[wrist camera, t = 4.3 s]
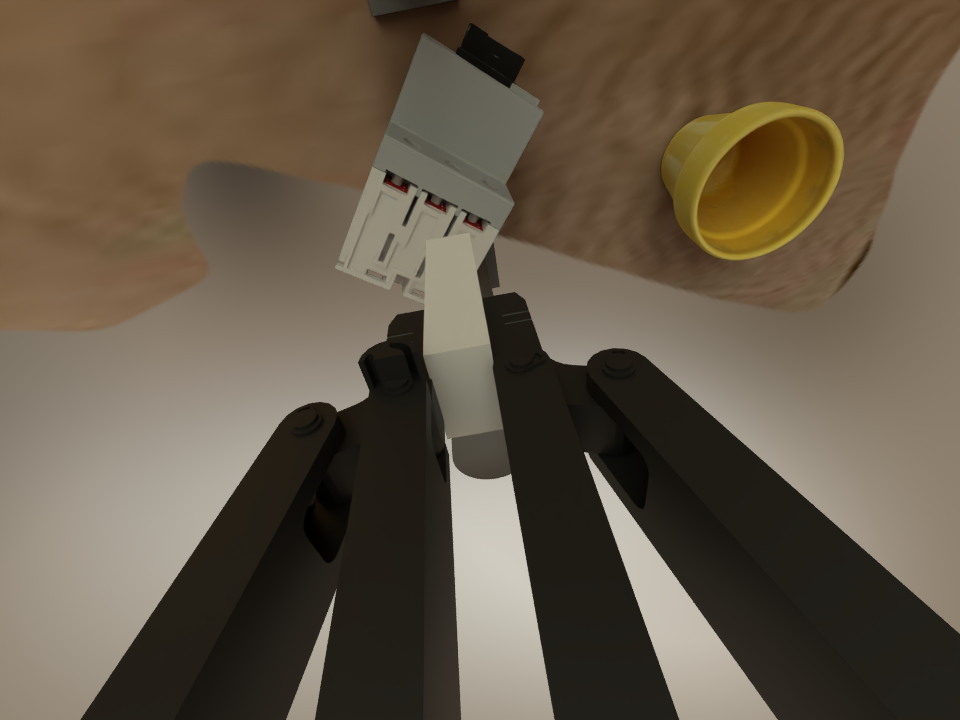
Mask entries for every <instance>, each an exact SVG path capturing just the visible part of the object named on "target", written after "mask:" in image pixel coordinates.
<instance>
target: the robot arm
mask: <svg viewBox="0 0 960 720" xmlns="http://www.w3.org/2000/svg"><path fill="white" fill-rule="evenodd" d="M387 337H388V338H387V341H385V342H381V343H379V344H377V345H375V346H373V347H371V348H369V349H368V350H367V351H366V352H365V353H364V354H363V355H362V356H361V358H360V360H359V362H358V364H359V366H360V369H361V371H362V373H363V376H364V378H365V381H366V383H367V385H368V388H369V390H370V391H369V397H368V398H366V399H365V400H364V401H362V402H360V403H358V404H356V405H354V406H351V407H349V408H346V409H344V410H341V411H339V412H337V411H336V409H335V407H333V406H332V405H330V404H329V403H323V402H317V403H310V404H307V405H304V406H302V407H300V408H298V409H296V410H294V411H293V412H291V413H290V414H288V415H287V416H286V417H285V418H284V420H283V421H282V422H281V423H280V424H279V426H278V427H277V429H276V430H275V431H274V433H273V434H272V436H271V438H270V439H269V441H268V442H267V443H266V445H265V446H264V448H263V449H262V451H261V452H260V454H259V455H258V457H257V459H256V460H255V461H254V463H253V464H252V466H251V467H250V469H249V470H248V472H247V473H246V475H245V476H244V478H243V479H242V481H241V482H240V484H239V485H238V486H237V488H236V490H235V491H234V493H233V494H232V495H231V497H230V498H229V500H228V501H227V503H226V504H225V506H224V507H223V509H222V510H221V512H220V513H219V515H218V516H217V518H216V519H215V521H214V522H213V524H212V525H211V527H210V528H209V530H208V531H207V533H206V534H205V536H204V537H203V539H202V540H201V541H200V543H199V545H198V546H197V547H196V549H195V550H194V552H193V554H192V555H191V556H190V558H189V559H188V561H187V562H186V564H185V565H184V567H183V568H182V570H181V571H180V573H179V574H178V576H177V577H176V579H175V580H174V582H173V583H172V585H171V586H170V588H169V589H168V591H167V592H166V594H165V595H164V597H163V598H162V600H161V601H160V602H159V604H158V605H157V607H156V608H155V610H154V612H153V613H152V614H151V616H150V617H149V619H148V620H147V622H146V623H145V625H144V626H143V628H142V629H141V631H140V632H139V634H138V635H137V637H136V638H135V640H134V641H133V643H132V644H131V646H130V647H129V649H128V650H127V651H126V653H125V655H124V656H123V657H122V659H121V661H120V662H119V663H118V665H117V666H116V668H115V669H114V671H113V672H112V674H111V675H110V677H109V678H108V680H107V681H106V683H105V684H104V686H103V687H102V689H101V690H100V692H99V693H98V695H97V696H96V698H95V699H94V701H93V702H92V704H91V705H90V706H89V708H88V709H87V711H86V712H85V714H84V715H83V717H82V718H81V720H286V718H287V715H288V713H289V710H290V708H291V705H292V703H293V700H294V697H295V695H296V692H297V690H298V687H299V684H300V682H301V679H302V676H303V674H304V671H305V669H306V666H307V664H308V661H309V658H310V656H311V653H312V651H313V648H314V645H315V643H316V640H317V638H318V635H319V632H320V630H321V627H322V625H323V622H324V620H325V617H326V614H327V612H328V609H329V607H330V604H331V601H332V599H333V596H334V594H335V591H336V597H335V603H334V608H333V614H332V621H331V626H330V632H329V638H328V644H327V651H326V657H325V662H324V669H323V674H322V681H321V687H320V693H319V699H318V705H317V711H316V717H315V720H461V711H460V710H461V709H460V686H459V667H458V666H459V664H458V642H457V621H456V599H455V577H454V555H453V533H452V514H451V513H452V512H451V489H450V467H449V454H448V450H447V447H446V444H445V432H446V435H447V438H448V439H450V438H455V437H461V436H467V435H473V434H479V433H484V432H490V431H496V430H502V429H503V430H504V436H505V441H506V447H507V453H508V459H509V464H510V470H511V475H512V481H513V487H514V492H515V498H516V504H517V509H518V515H519V520H520V526H521V532H522V537H523V543H524V549H525V555H526V560H527V566H528V572H529V577H530V583H531V588H532V594H533V599H534V606H535V611H536V617H537V623H538V628H539V634H540V640H541V645H542V650H543V657H544V662H545V668H546V674H547V679H548V685H549V691H550V696H551V702H552V707H553V713H554V719H555V720H679V718H678V715H677V712H676V709H675V707H674V704H673V701H672V698H671V695H670V692H669V690H668V687H667V684H666V681H665V678H664V676H663V673H662V670H661V667H660V665H659V662H658V659H657V656H656V653H655V651H654V648H653V645H652V642H651V639H650V637H649V634H648V631H647V628H646V625H645V622H644V620H643V617H642V614H641V611H640V608H639V606H638V603H637V600H636V597H635V594H634V592H633V589H632V586H631V583H630V580H629V578H628V575H627V572H626V569H625V566H624V564H623V561H622V558H621V555H620V552H619V550H618V547H617V544H616V541H615V538H614V536H613V533H612V530H611V527H610V525H609V522H608V519H607V516H606V513H605V510H604V508H603V505H602V502H601V499H600V496H599V494H598V491H597V488H596V485H595V483H594V479H593V477H592V474H591V471H590V469H589V465H588V463H587V460H586V457H585V454H584V452H588V453H589V455H590V458H591V459H592V461H593V462H594V464H595V465H596V466H597V468H598V469H599V471H600V472H601V473H602V475H603V476H604V477H605V479H606V480H607V482H608V483H609V485H610V486H611V487H612V488H613V490H614V492H615V493H616V494H617V496H618V497H619V499H620V500H621V501H622V503H623V504H624V505H625V507H626V508H627V510H628V511H629V512H630V514H631V515H632V517H633V518H634V519H635V521H636V522H637V524H638V525H639V526H640V528H641V529H642V531H643V532H644V533H645V535H646V536H647V538H648V539H649V540H650V542H651V543H652V544H653V546H654V547H655V549H656V550H657V551H658V553H659V554H660V556H661V557H662V558H663V560H664V561H665V563H666V564H667V565H668V567H669V568H670V570H671V571H672V573H673V574H674V575H675V577H676V578H677V580H678V581H679V582H680V584H681V585H682V586H683V588H684V589H685V591H686V592H687V593H688V595H689V596H690V598H691V599H692V600H693V602H694V603H695V605H696V606H697V607H698V609H699V610H700V612H701V613H702V614H703V616H704V617H705V618H706V620H707V621H708V623H709V624H710V626H711V627H712V628H713V630H714V631H715V633H716V634H717V635H718V637H719V638H720V639H721V641H722V642H723V644H724V645H725V646H726V648H727V649H728V651H729V652H730V654H731V655H732V656H733V658H734V659H735V661H736V662H737V663H738V664H739V666H740V667H741V669H742V670H743V672H744V673H745V674H746V676H747V677H748V679H749V680H750V681H751V683H752V684H753V685H754V687H755V688H756V690H757V691H758V693H759V694H760V695H761V697H762V698H763V700H764V701H765V702H766V704H767V705H768V706H769V708H770V709H771V711H772V712H773V713H774V715H775V716H776V718H777V719H778V720H960V634H959V633H958V632H957V631H956V630H954V629H953V628H952V627H951V626H950V625H949V624H948V623H946V622H945V621H944V620H943V619H942V618H941V617H940V616H939V615H938V614H936V613H935V612H934V611H933V610H932V609H931V608H930V607H928V606H927V605H926V604H925V603H924V602H923V601H922V600H920V599H919V598H918V597H917V596H916V595H915V594H914V593H913V592H911V591H910V590H909V589H908V588H907V587H906V586H905V585H903V584H902V583H901V582H900V581H899V580H898V579H897V578H896V577H894V576H893V575H892V574H891V573H890V572H889V571H888V570H886V569H885V568H884V567H883V566H882V565H881V564H880V563H878V562H877V561H876V560H875V559H874V558H873V557H872V556H871V555H869V554H868V553H867V552H866V551H865V550H864V549H863V548H861V547H860V546H859V545H858V544H857V543H856V542H855V541H853V540H852V539H851V538H850V537H849V536H848V535H847V534H845V533H844V532H843V531H842V530H841V529H840V528H839V527H838V526H836V525H835V524H834V523H833V522H832V521H831V520H829V518H827V517H826V516H825V515H824V514H823V513H822V512H820V511H819V510H818V509H817V508H816V507H815V506H814V505H813V504H811V503H810V502H809V501H808V500H807V499H806V498H805V497H803V496H802V495H801V494H800V493H799V492H798V491H797V490H796V489H794V488H793V487H792V486H791V485H790V484H789V483H788V482H786V481H785V480H784V479H783V478H782V477H781V476H780V475H779V474H777V473H776V472H775V471H774V470H773V469H772V468H771V467H769V466H768V465H767V464H766V463H765V462H764V461H763V460H761V459H760V458H759V457H758V456H757V455H756V454H755V453H754V452H752V451H751V450H750V449H749V448H748V447H747V446H746V445H744V444H743V443H742V442H741V441H740V440H738V438H736V437H735V436H734V435H733V434H732V433H731V432H730V431H729V430H727V429H726V428H725V427H724V426H723V425H722V424H721V423H719V422H718V421H717V420H716V419H715V418H714V417H713V416H712V415H710V414H709V413H708V412H707V411H706V410H704V408H702V407H701V406H700V405H699V404H698V403H697V402H696V401H694V400H693V399H692V398H691V397H690V396H689V395H688V394H687V393H685V392H684V391H683V390H682V389H681V388H680V387H679V386H678V385H676V384H675V383H674V382H673V381H672V380H671V379H669V378H668V377H667V376H666V375H665V374H664V373H662V371H660V370H659V369H658V368H657V367H656V366H655V365H653V364H652V363H651V362H650V361H649V360H648V359H647V358H646V357H644V356H642V355H641V354H639V353H637V352H635V351H631V350H628V349H617V348H612V349H608V350H603V351H600V352H598V353H596V354H594V355H593V356H592V357H591V358H590V359H589V361H588V363H587V366H581V365H580V366H579V365H568V364H562V363H559V362H556V361H554V360H552V359H550V357H549V356H548V355H547V353H546V352H545V351H543V350H542V348H541V345H540V342H539V339H538V336H537V333H536V330H535V327H534V324H533V322H532V320H531V316H530V313H529V311H528V307H527V304H526V301H525V299H523V298H522V297H521V296H519V295H518V294H517V293H515V292H513V293H507V294H502V295H496V296H491V297H485V298H482V297H481V292H480V286H479V281H478V276H477V270H476V265H475V260H474V254H473V249H472V244H471V239H470V233H464V234H459V235H453V236H448V237H442V238H437V239H432V240H426V256H425V297H424V310H420V311H415V312H410V313H404V314H398V315H397V316H396V317H395V318H394V320H393V321H392V322H391V324H389V327H388V334H387ZM444 428H445V429H444ZM336 589H337V590H336Z"/></svg>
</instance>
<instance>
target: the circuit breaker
mask: <svg viewBox="0 0 960 720" xmlns="http://www.w3.org/2000/svg"><path fill="white" fill-rule="evenodd" d="M524 61H525V59H524V58H522V57H521V56H519V55H518V54H516V53H514V52H513V51H511V50H509V49H508V48H506V47H504V46H503V45H501V44H500V43H498V42H496V41H495V40H493V39H492V38H490V37H489V36H488V34H487V33H486V32H484V31H483V30H481V29H480V28H478V27H477V26H475V25H474V24H472V23H470V24H469V26H468V29H467V31H466V34H465V36H464V39H463V41H462V44H461V46H460V47H458V49H457V51H456V53H455V52H454V51H452V50H451V49H449V48H448V47H446V46H445V45H443V44H441V43H440V42H438V41H437V40H435V39H434V38H432V37H431V36H429V35H427V34H426V33H423V34H422V36H421V39H420V41H419V44H418V47H417V50H416V52H415V55H414V58H413V60H412V63H411V66H410V68H409V71H408V74H407V77H406V79H405V82H404V85H403V87H402V90H401V93H400V95H399V98H398V101H397V104H396V106H395V109H394V112H393V114H392V117H391V120H390V122H389V125H388V127H387V129H386V132H385V134H384V137H383V139H382V142H381V145H380V148H379V150H378V153H377V156H376V158H375V161H374V164H373V167H372V169H371V172H370V175H369V177H368V180H367V183H366V185H365V188H364V191H363V194H362V196H361V199H360V202H359V204H358V207H357V210H356V213H355V215H354V218H353V221H352V223H351V226H350V229H349V232H348V234H347V237H346V240H345V243H344V245H343V248H342V251H341V254H340V257H339V260H340V261H342V262H345V263H344V265H342V264H340V263H337V264H336V267H335V268H336V269H338V270H341V271H343V272H345V273H348V274H350V275H353V276H355V277H358V278H360V279H362V280H365V281H367V282H370V283H372V284H375V285H377V286H380V287H382V288H385V289H387V290H390V289H391V286H392V284H393V282H396V283H398V284H401V285H403V296H405V297H407V298H409V299H412V300H414V301H417V302H419V303H422V304H424V297H423V296H421V295H418V294H416V293H414V292H413V289H416V290H418V291H421V292H423V293H425V256H426V240H432V239H437V238H442V237H448V236H453V235H459V234H464V233H470V239H471V244H472V249H473V254H474V260H475V265H476V270H478V268H479V266H480V264H481V263H482V261H483V259H484V257H485V256H486V254H487V252H488V250H489V248H490V247H491V245H492V243H493V241H494V240H495V238H496V236H497V234H498V233H499V231H500V229H501V227H502V226H503V224H504V222H505V220H506V218H507V217H508V215H509V213H510V211H511V210H512V208H513V206H514V201H513V199H512V197H511V195H510V193H509V191H508V188H507V186H506V183H507V181H508V179H509V177H510V175H511V173H512V171H513V169H514V168H515V166H516V164H517V162H518V160H519V158H520V156H521V155H522V153H523V151H524V149H525V147H526V145H527V143H528V142H529V140H530V138H531V136H532V134H533V132H534V130H535V129H536V127H537V125H538V123H539V121H540V119H541V117H542V116H543V114H544V112H543V110H541V109H540V108H539V107H537V106H538V104H539V102H540V100H538V99H537V98H535V97H534V96H532V95H531V94H529V93H528V92H526V91H525V90H523V89H522V88H520V87H519V86H517V85H516V84H515V83H514V81H515V79H516V77H517V75H518V73H519V71H520V69H521V67H522V65H523V63H524ZM368 270H370V271H373V272H375V273H378V274H380V275H382V276H383V277H382V279H380V278H377V277H375V276H372V275H370V274H368Z"/></svg>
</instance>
